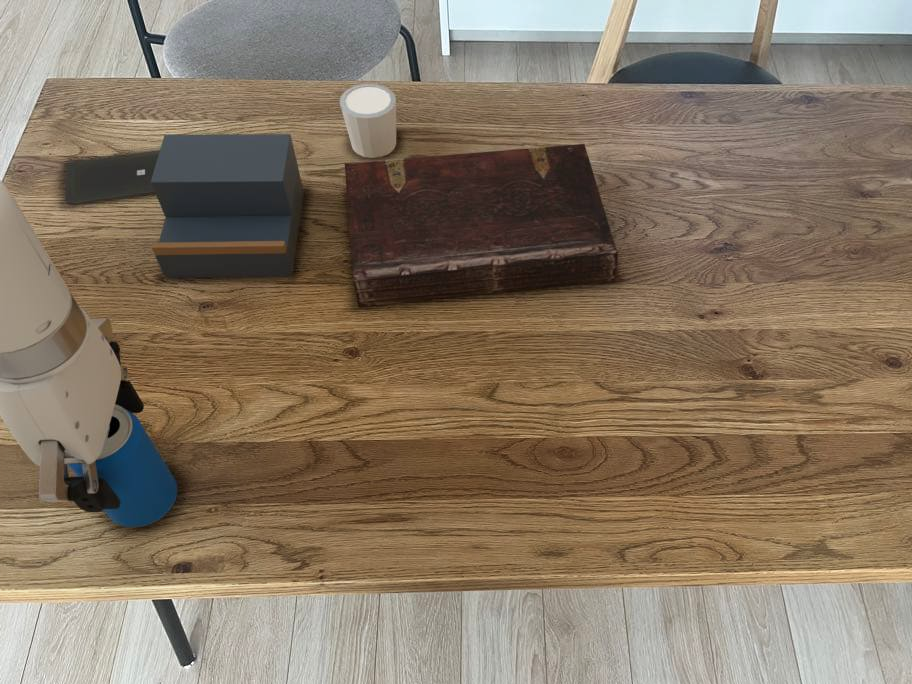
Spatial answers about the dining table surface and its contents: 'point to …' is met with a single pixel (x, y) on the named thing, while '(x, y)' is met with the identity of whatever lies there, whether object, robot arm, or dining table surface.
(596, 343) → the dining table surface
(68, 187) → the smartphone
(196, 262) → the step shelf
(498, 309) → the dining table surface
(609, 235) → the hardback book
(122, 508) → the beverage can
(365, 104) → the white cylinder
